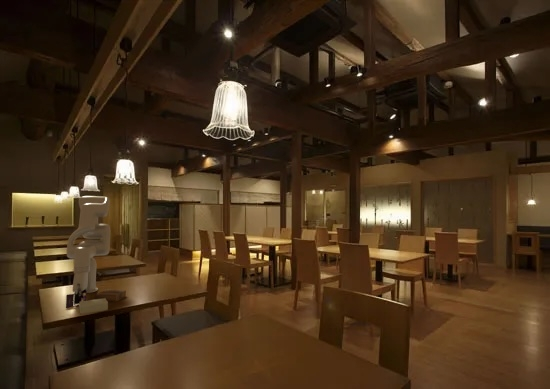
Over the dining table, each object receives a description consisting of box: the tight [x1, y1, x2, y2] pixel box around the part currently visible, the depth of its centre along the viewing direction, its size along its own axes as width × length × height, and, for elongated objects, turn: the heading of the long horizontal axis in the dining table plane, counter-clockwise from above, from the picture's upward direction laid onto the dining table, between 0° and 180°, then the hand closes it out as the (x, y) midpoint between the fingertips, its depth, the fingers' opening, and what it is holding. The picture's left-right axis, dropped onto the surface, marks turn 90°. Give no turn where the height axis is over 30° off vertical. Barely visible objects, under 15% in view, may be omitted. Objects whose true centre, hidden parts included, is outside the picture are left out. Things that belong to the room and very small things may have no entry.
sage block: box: [78, 298, 109, 315], centre depth 161 cm, size 10×12×4 cm
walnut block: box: [95, 289, 127, 302], centre depth 180 cm, size 10×12×4 cm
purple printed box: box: [65, 293, 87, 309], centre depth 167 cm, size 7×5×9 cm
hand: (80, 300), depth 169 cm, fingers open, 9 cm apart
